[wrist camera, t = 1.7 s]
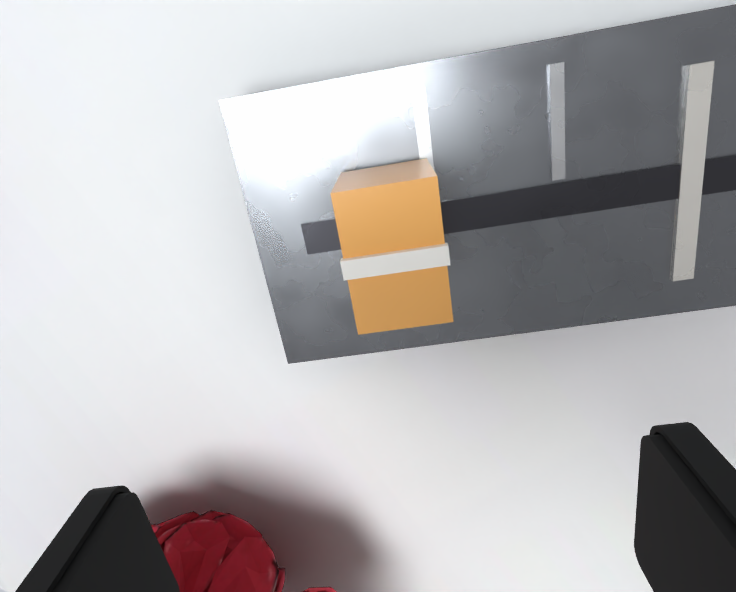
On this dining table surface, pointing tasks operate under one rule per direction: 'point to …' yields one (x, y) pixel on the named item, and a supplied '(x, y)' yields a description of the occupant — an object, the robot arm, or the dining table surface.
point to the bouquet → (220, 555)
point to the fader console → (512, 181)
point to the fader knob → (393, 246)
